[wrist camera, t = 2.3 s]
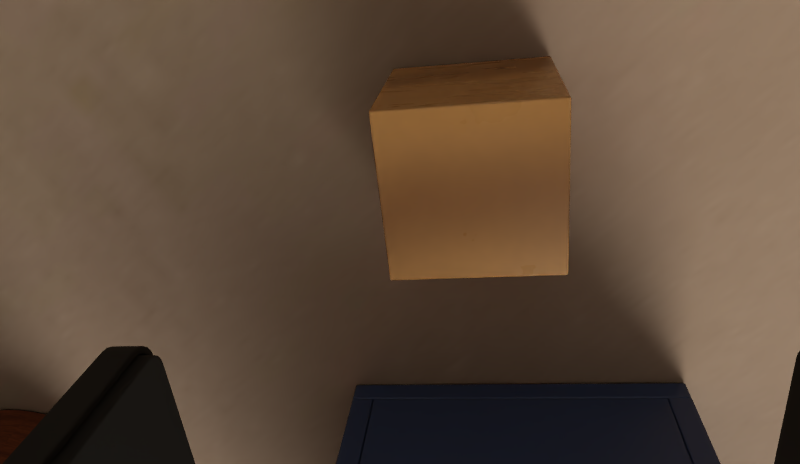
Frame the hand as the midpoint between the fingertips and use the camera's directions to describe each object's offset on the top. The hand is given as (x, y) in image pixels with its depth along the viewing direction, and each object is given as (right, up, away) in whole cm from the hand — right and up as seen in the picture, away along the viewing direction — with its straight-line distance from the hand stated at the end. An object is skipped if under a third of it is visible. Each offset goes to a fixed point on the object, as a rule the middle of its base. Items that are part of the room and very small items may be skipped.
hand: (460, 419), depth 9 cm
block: (+1, +6, +10) cm, 11 cm away
